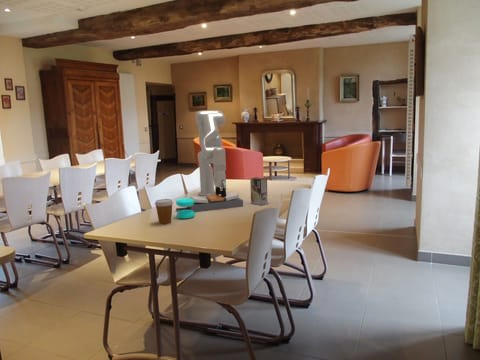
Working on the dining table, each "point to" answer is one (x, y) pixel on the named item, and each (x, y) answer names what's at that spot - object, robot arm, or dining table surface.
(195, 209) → the long grey tray
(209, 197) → the rocker middle orange
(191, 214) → the donuts
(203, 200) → the rocker near grey
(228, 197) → the rocker far grey
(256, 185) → the coffee box
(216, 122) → the robot arm
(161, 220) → the disposable coffee cup
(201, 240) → the dining table surface
